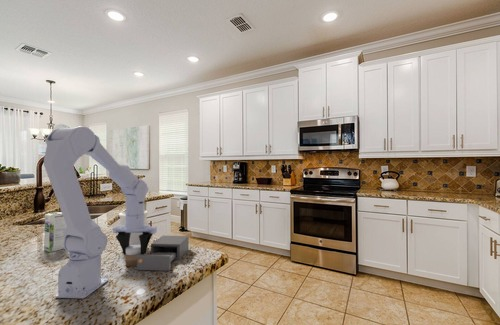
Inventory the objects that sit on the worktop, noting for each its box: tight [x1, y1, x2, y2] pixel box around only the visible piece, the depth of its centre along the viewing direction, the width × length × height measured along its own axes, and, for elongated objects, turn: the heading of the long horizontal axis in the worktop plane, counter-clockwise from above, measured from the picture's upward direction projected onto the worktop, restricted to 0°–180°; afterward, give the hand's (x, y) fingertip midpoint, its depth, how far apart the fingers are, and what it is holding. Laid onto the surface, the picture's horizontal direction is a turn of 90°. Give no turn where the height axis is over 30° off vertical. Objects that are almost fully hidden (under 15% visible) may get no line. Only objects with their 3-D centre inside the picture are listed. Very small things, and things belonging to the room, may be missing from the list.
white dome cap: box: [126, 244, 141, 255], centre depth 80 cm, size 6×6×2 cm
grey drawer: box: [136, 252, 177, 272], centre depth 80 cm, size 11×11×5 cm
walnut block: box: [125, 253, 141, 267], centre depth 80 cm, size 4×4×4 cm
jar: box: [118, 209, 149, 253], centre depth 94 cm, size 11×10×15 cm
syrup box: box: [43, 211, 67, 253], centre depth 95 cm, size 6×6×14 cm
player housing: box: [150, 235, 190, 261], centre depth 89 cm, size 10×11×6 cm
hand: (134, 253), depth 80 cm, fingers closed on white dome cap, 6 cm apart
